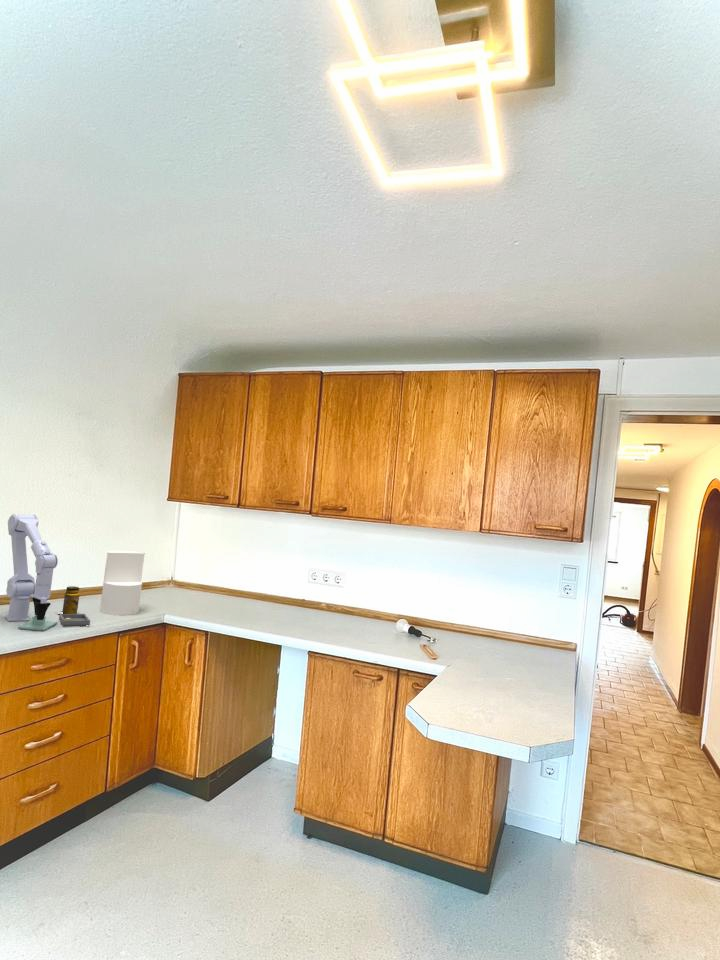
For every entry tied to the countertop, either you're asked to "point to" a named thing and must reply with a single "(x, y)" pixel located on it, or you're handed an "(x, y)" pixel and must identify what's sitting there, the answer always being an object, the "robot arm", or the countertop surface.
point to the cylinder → (122, 582)
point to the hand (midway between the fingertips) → (38, 617)
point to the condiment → (71, 600)
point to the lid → (37, 624)
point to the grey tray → (74, 619)
